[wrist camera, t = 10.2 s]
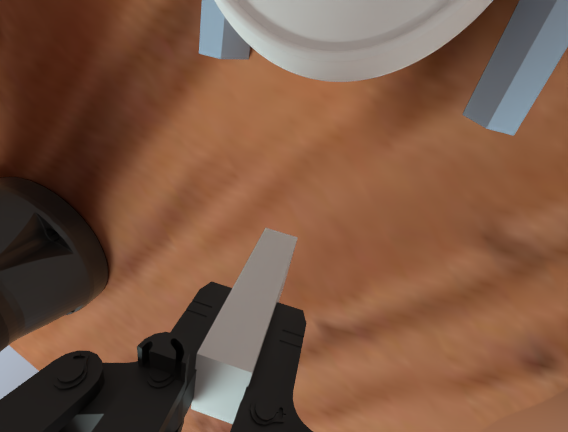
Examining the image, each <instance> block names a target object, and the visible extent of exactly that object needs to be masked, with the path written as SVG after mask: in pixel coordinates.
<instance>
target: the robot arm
mask: <svg viewBox="0 0 568 432" xmlns="http://www.w3.org/2000/svg"><path fill="white" fill-rule="evenodd" d="M297 238H298V237H294V236H291V235H288V234H284V233H281V232H278V231H275V230H271V229H268V228H265V230H264V231H263V233H262V235H261V237H260V239H259V241H258V242H257V244H256V246H255V248H254V250H253V252H252V253H251V255H250V257H249V259H248V261H247V263H246V264H245V266H244V268H243V270H242V272H241V274H240V275H239V277H238V279H237V281H236V283H235V285H234V286H233V288H230V287H227V286H224V285H221V284H217V283H214V282H210V283H209V284H207V285H206V286H204V287H203V288H201V289H200V290H199V291H198V293H197V294H196V296H195V297H194V299H193V301H192V302H191V303H190V305H189V306H188V308H187V309H186V311H185V312H184V313H183V315H182V316H181V318H180V319H179V321H178V322H177V324H176V325H175V326H174V328H173V329H172V331H171V332H170V333H168V332H163V333H157V334H154V335H152V336H150V337H148V338H146V339H144V340H143V341H142V342H141V343H140V344H139V345H138V346H137V352H138V361H137V362H131V363H102V360H101V359H100V358H99V356H98V355H97V354H95V353H92V352H90V351H75V352H71V353H68V354H65V355H63V356H61V357H60V358H58V359H56V360H54V361H53V362H51V363H50V364H49V365H47V366H46V367H45V368H43V369H42V370H40V371H39V372H38V373H36V374H35V375H34V376H32V377H31V378H29V379H28V380H27V381H25V382H24V383H23V384H21V385H20V386H18V387H17V388H16V389H15V390H13V391H12V392H10V393H9V394H7V395H6V396H5V397H3V398H2V399H1V400H0V432H181V430H182V427H183V423H184V417H185V415H186V413H187V411H188V409H189V407H190V405H191V403H192V406H191V409H193V410H195V411H198V412H201V413H204V414H206V415H209V416H212V417H214V418H217V419H220V420H223V421H225V422H228V423H231V424H233V425H232V428H231V431H230V432H313V431H311V430H310V429H309V428H308V427H307V426H306V425H305V424H304V423H303V422H302V421H301V419H300V418H299V416H298V415H297V413H296V410H295V408H294V403H293V389H294V384H295V379H296V374H297V368H298V363H299V358H300V353H301V348H302V343H303V337H304V333H305V327H306V320H305V317H304V313H303V310H300V309H297V308H294V307H291V306H287V305H284V304H281V303H278V302H279V299H280V296H281V293H282V290H283V287H284V284H285V280H286V277H287V273H288V270H289V266H290V263H291V259H292V256H293V252H294V249H295V245H296V242H297ZM107 278H108V268H107V262H106V258H105V255H104V252H103V250H102V247H101V245H100V243H99V241H98V239H97V238H96V236H95V234H94V233H93V231H92V230H91V229H90V227H89V226H88V224H87V223H86V222H85V221H84V220H83V218H82V217H81V216H80V215H79V214H78V213H77V212H76V211H75V210H74V209H73V208H72V207H71V206H70V205H69V204H68V203H66V202H65V201H64V200H63V199H61V198H60V197H59V196H57V195H56V194H55V193H53V192H51V191H50V190H48V189H46V188H45V187H43V186H41V185H39V184H37V183H34V182H32V181H29V180H26V179H22V178H17V177H3V178H0V351H2V350H3V349H4V348H5V347H7V346H8V345H9V344H11V343H12V342H13V341H15V340H17V339H18V338H20V337H22V336H24V335H26V334H28V333H30V332H32V331H34V330H36V329H39V328H41V327H43V326H45V325H47V324H49V323H51V322H53V321H54V320H56V319H58V318H60V317H62V316H64V315H68V314H72V313H74V312H76V311H79V310H80V309H82V308H83V307H85V306H86V305H87V304H89V303H90V302H91V301H92V300H93V299H94V298H95V297H97V296H98V295H99V294H100V293H101V292H102V291H103V289H104V288H105V286H106V283H107Z"/></svg>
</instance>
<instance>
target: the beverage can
mask: <svg viewBox="0 0 568 432" xmlns="http://www.w3.org/2000/svg"><path fill="white" fill-rule="evenodd" d="M492 1H493V0H215V2H216V4H217V6H218V7H219V9H220V11H221V12H222V14H223V15H224V16H225V18H226V19H227V21H228V22H229V23H230V25H231V26H232V27H233V28H234V30H235V31H236V32H237V33H238V34H239V35H240V36H241V37H242V38H243V39H244V41H245V42H246V43H248V44H249V45H250V46H251V47H252V48H253V49H254V50H255V51H257V52H258V53H259V54H260V55H262V56H263V57H265V58H266V59H267V60H269V61H270V62H272V63H274V64H275V65H277V66H279V67H281V68H283V69H285V70H287V71H289V72H292V73H294V74H297V75H300V76H303V77H307V78H311V79H316V80H322V81H331V82H350V81H360V80H366V79H371V78H375V77H379V76H383V75H386V74H389V73H392V72H395V71H398V70H400V69H402V68H405V67H407V66H409V65H411V64H413V63H415V62H417V61H419V60H421V59H423V58H425V57H426V56H428V55H430V54H431V53H433V52H434V51H436V50H438V49H439V48H440V47H442V46H443V45H445V44H446V43H448V42H449V41H450V40H451V39H453V38H454V37H455V36H457V35H458V34H459V33H460V32H461V31H463V30H464V29H465V28H466V27H467V26H468V25H469V24H471V23H472V22H473V21H474V20H475V19H476V18H477V17H478V16H479V15H480V14H481V13H482V12H483V11H484V10H485V9H486V8H487V7H488V6H489V4H490V3H491V2H492Z"/></svg>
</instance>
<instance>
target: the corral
mask: <svg viewBox="0 0 568 432" xmlns="http://www.w3.org/2000/svg"><path fill="white" fill-rule="evenodd" d="M567 47H568V0H520V1H519V3H518V5H517V7H516V9H515V11H514V13H513V15H512V17H511V19H510V21H509V23H508V25H507V27H506V29H505V31H504V33H503V35H502V37H501V39H500V41H499V43H498V45H497V47H496V49H495V51H494V53H493V55H492V57H491V59H490V61H489V63H488V65H487V67H486V69H485V71H484V72H483V74H482V76H481V78H480V80H479V82H478V84H477V86H476V88H475V90H474V92H473V94H472V96H471V98H470V100H469V102H468V104H467V106H466V108H465V110H464V112H463V114H462V115H464V116H466V117H467V118H469V119H471V120H473V121H474V122H476V123H478V124H479V125H481V126H483V127H485V128H487V129H490V130H494V131H498V132H502V133H506V134H509V135H513V136H514V134H515V133H516V131H517V129H518V128H519V126H520V124H521V123H522V121H523V119H524V118H525V116H526V114H527V113H528V111H529V109H530V108H531V106H532V105H533V103H534V101H535V100H536V98H537V96H538V95H539V93H540V91H541V90H542V88H543V86H544V85H545V83H546V81H547V80H548V78H549V77H550V75H551V73H552V72H553V70H554V68H555V67H556V65H557V63H558V62H559V60H560V58H561V57H562V55H563V53H564V52H565V50H566V49H567ZM199 53H200V54H203V55H207V56H211V57H215V58H219V59H249V53H250V45H249V44H248V43H246V42H245V41H244V39H243V38H242V37H241V36H240V35H239V34H238V33H237V32H236V31H235V30H234V28H233V27H232V26H231V25H230V23H229V22H228V21H227V19H226V18H225V16H224V15H223V14H222V12H221V11H220V9H219V7H218V6H217V4H216V2H215V0H202V8H201V25H200V43H199Z"/></svg>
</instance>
